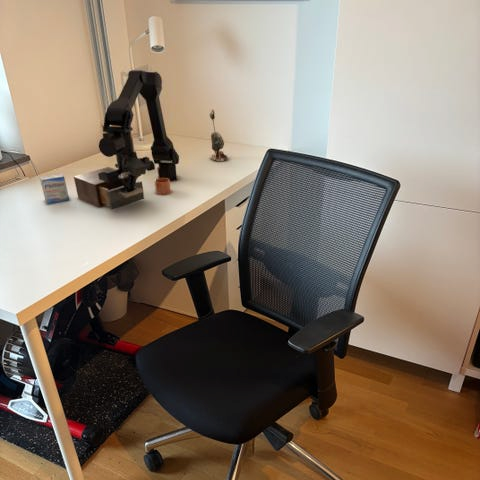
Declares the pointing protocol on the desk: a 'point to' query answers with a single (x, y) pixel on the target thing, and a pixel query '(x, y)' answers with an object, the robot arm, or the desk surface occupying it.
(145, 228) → the desk surface
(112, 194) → the drawer
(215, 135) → the plant with pod
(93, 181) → the cabinet
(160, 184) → the cup
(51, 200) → the medicine box
